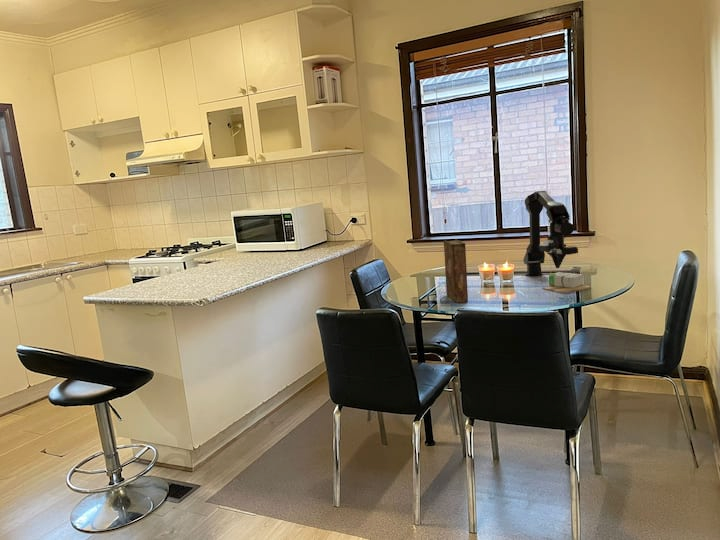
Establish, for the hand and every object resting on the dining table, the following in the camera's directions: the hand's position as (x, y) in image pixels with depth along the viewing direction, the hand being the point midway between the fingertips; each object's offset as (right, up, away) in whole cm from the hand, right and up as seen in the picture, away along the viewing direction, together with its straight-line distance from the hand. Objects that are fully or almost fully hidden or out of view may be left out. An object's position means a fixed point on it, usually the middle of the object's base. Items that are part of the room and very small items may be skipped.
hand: (557, 268), depth 239 cm
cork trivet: (+3, -9, -3) cm, 10 cm away
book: (-45, -14, -5) cm, 48 cm away
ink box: (0, -5, +4) cm, 7 cm away
